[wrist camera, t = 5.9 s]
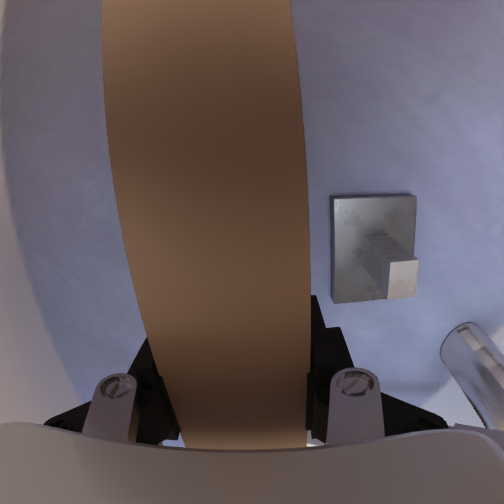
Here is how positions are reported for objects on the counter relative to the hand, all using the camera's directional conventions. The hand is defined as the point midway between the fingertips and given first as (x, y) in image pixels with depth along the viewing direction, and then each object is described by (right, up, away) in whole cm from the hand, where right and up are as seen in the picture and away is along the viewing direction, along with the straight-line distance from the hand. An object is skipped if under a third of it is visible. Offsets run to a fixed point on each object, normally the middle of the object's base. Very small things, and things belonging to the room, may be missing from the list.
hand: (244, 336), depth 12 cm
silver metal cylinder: (+27, -9, +22) cm, 35 cm away
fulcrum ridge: (+12, +4, +18) cm, 22 cm away
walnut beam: (0, 0, +1) cm, 1 cm away
